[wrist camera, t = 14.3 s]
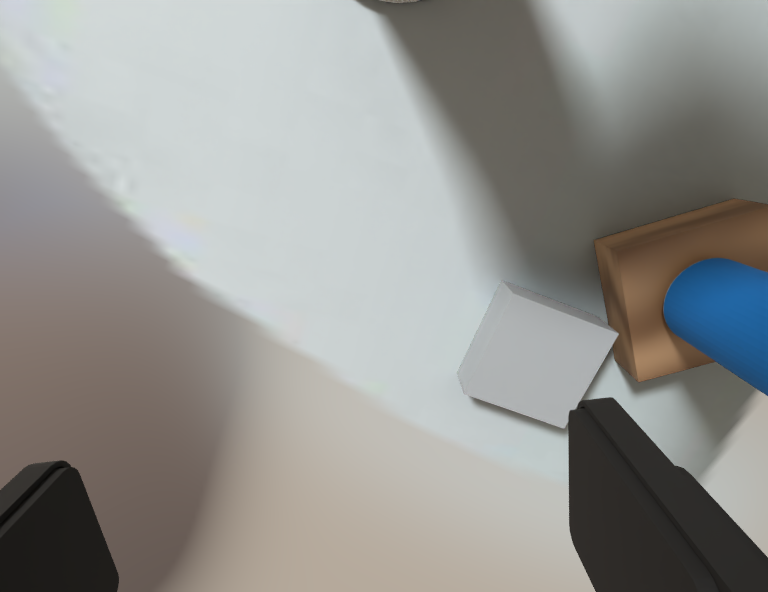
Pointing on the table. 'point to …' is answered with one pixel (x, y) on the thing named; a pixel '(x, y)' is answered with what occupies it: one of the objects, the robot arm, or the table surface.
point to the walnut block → (670, 278)
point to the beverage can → (723, 315)
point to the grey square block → (534, 355)
